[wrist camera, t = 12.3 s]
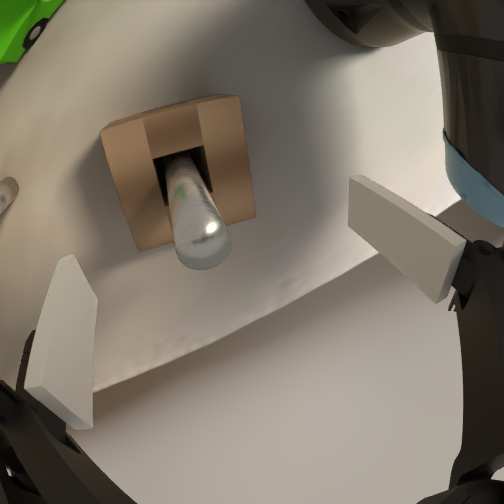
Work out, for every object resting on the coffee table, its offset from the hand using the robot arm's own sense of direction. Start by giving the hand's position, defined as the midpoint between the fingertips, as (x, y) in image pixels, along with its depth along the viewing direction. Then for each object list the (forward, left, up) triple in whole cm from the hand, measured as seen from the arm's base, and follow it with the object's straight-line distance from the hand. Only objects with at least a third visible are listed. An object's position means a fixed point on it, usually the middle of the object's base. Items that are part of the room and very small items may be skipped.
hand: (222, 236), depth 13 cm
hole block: (0, 0, -16) cm, 16 cm away
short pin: (-3, -17, -16) cm, 24 cm away
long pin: (0, 0, -16) cm, 16 cm away
